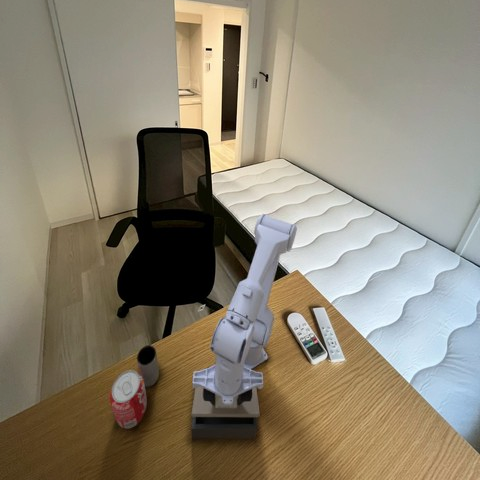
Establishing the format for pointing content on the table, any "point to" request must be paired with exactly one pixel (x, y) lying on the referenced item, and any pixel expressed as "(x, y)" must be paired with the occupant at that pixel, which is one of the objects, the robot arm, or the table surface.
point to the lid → (224, 406)
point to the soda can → (128, 399)
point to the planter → (148, 365)
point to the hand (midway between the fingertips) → (226, 399)
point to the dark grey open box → (224, 427)
